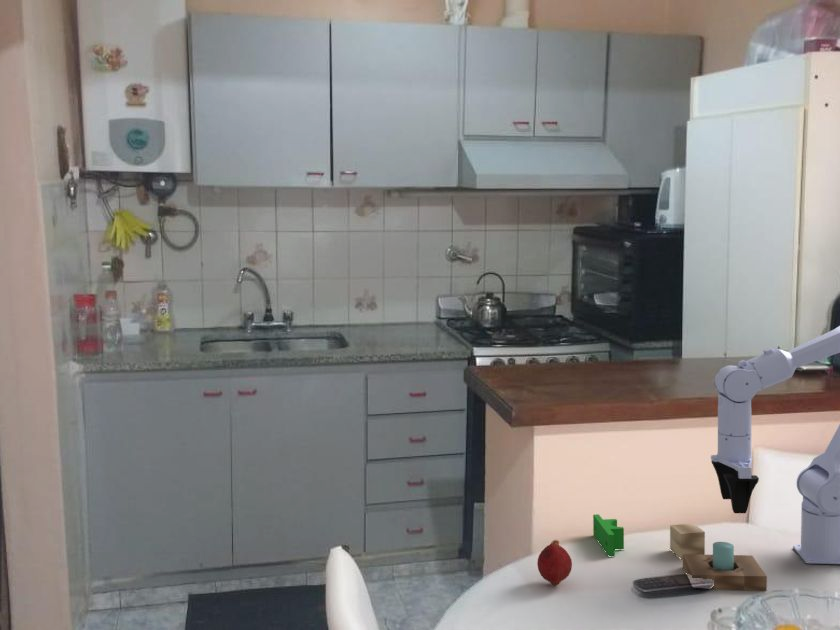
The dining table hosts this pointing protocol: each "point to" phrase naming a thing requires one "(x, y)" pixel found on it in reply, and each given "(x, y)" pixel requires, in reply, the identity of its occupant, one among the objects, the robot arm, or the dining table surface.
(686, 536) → the wooden cube block
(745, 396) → the robot arm
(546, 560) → the onion
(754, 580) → the socket block
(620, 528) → the green pronged block
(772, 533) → the dining table surface
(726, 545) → the teal dowel
